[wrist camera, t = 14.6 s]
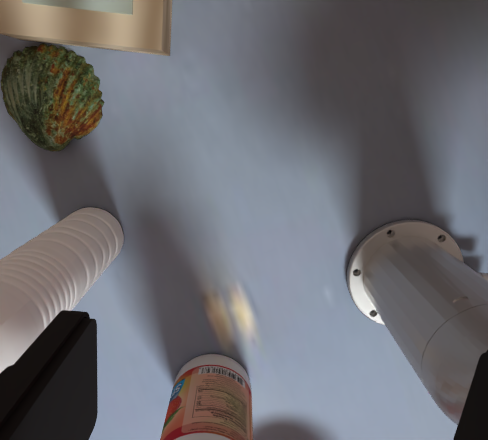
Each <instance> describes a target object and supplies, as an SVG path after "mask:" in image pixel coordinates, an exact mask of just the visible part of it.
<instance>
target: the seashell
mask: <svg viewBox="0 0 488 440" xmlns="http://www.w3.org/2000/svg"><path fill="white" fill-rule="evenodd" d="M99 85H100V80H99V78H98V77H97V76H95V75H94V69H93V66H92V65H90V64H87V63H86V61H85V58H84V57H79V56H77V55H76V53H75V52H74V51H70V52H67V50H66V49H65V48H64V47H60V48H59V49H58V48H57V47H56V46H54V45H50V46H47V45H46V44H45V43H42V44H40V45H39V46H38V47H37V46H31V47H25V48H24V50H23V52H20V51H16V52H14V53H13V57H11V58H9V59H7V64H6V66H5V67H4V69H3V71H2V80H1V89H2V92H3V100H4V102H5V106H6V108H7V111H8V113H9V115H10V116H11V117H12V118H13V119H14V120H15V121H16V122H17V123H18V125H19V127H20V128H21V130H22V131H23V132H24V133H25V135H26V136H27V137H28V138H29V139H30V140H31V141H32V142H33V143H35V144H36V145H37V146H39V147H41V148H43V149H46V150H49V151H60V150H62V149H64V148H65V147H66V146H67V145H68V144H69V143H70V141H71V140H72V139H73V138H76V139H81V138H82V137H83V136H86V135H88V134H89V133H90V132H91V131H92V130H94V129H95V128H96V127H97V125H98V124H99V122H100V120H101V118H102V106H103V104H104V101H103V100H102V99H101V96H102V92H101V91H100V90H99V89H98V88H99Z"/></svg>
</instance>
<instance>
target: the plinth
mask: <svg viewBox="0 0 488 440" xmlns="http://www.w3.org/2000/svg"><path fill="white" fill-rule="evenodd" d="M171 17H172V0H0V34H3V35H6V36H10V37H13V38H17V39H20V40H27V41H36V42H46V43H55V44H64V45H74V46H83V47H92V48H101V49H111V50H120V51H129V52H139V53H148V54H157V55H167V56H170V41H171Z"/></svg>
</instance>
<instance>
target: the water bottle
mask: <svg viewBox="0 0 488 440" xmlns="http://www.w3.org/2000/svg"><path fill="white" fill-rule="evenodd" d="M123 242H124V235H123V232H122V228H121V225H120V224H119V222H118V221H117V219H116V218H115V217H113V216H112V215H111V214H110V213H109V212H107V211H105V210H102V209H99V208H93V207H87V208H82V209H79V210H77V211H75V212H73V213H72V214H70V215H69V216H67V217H66V218H64V219H63V220H61V221H60V222H58V223H57V224H55V225H53V226H52V227H50V228H49V229H48V230H46V231H44V232H42V233H41V234H39V235H38V236H37V237H35V238H33V239H31V240H30V241H28V242H27V243H26V244H24V245H22V246H21V247H19V248H17V249H16V250H14V251H13V252H11V253H10V254H9V255H7V256H6V257H4V258H2V259H1V260H0V373H1V372H2V371H3V370H4V369H5V368H7V367H8V366H11V365H14V364H15V362H16V361H17V360H18V359H19V358H20V357H21V356H22V354H23V353H24V352H25V351H26V350H27V349H28V348H29V346H30V345H31V344H32V343H33V342H34V341H35V340H36V339H37V337H38V336H39V335H40V334H41V333H42V332H43V331H44V329H45V328H46V327H47V326H48V325H49V324H50V323H51V321H52V320H53V319H54V318H55V317H56V316H57V315H58V314H59V312H61V311H62V310H68V311H71V310H72V309H73V308H74V307H75V306H76V305H77V303H78V302H79V301H80V300H81V298H82V297H83V296H84V295H85V294H86V293H87V291H88V290H89V289H90V287H91V286H92V285H93V284H94V283H95V281H96V280H97V279H98V278H99V277H100V276H101V274H102V273H103V272H104V270H105V269H106V268H107V267H108V266H109V265H110V263H111V262H112V261H113V260H114V259H115V258H116V257H117V255H118V254H119V253H120V251H121V249H122V246H123Z"/></svg>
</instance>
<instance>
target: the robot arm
mask: <svg viewBox="0 0 488 440" xmlns="http://www.w3.org/2000/svg"><path fill="white" fill-rule="evenodd" d="M389 230H390V232H389V233H387V232H388V231H389ZM438 236H439V237H438ZM355 269H357V270H356V271H354V270H355ZM347 284H348V290H349V293H350V295H351V297H352V300H353V301H354V303H355V305H356V306H357V308H358V309H359V310H360V311H361V312H362V313H363V314H364V315H365V316H366V317H368V318H369V319H371V320H373V321H375V322H377V323H379V324H382V325H385V326H386V327H387V329H388V330H389V332H390V333H391V335H392V336H393V338H394V340H395V341H396V343H397V344H398V346H399V347H400V349H401V350H402V352H403V354H404V355H405V357H406V358H407V360H408V361H409V363H410V364H411V366H412V368H413V369H414V371H415V372H416V374H417V375H418V377H419V378H420V380H421V382H422V383H423V385H424V386H425V388H426V389H427V391H428V392H429V394H430V395H431V397H432V398H433V400H434V401H435V403H436V404H437V405H438V407H439V408H440V409H441V410H442V412H443V413H444V414H445V415H446V416H447V417H448V418H449V419H451V420H452V421H453V422H454V423H456V424H457V425H458V427H457V430H456V433H455V436H454V440H488V273H476V271H474V270H473V269H472V268H470V267H469V266H467V265H466V264H465V263H464V261H463V257H462V253H461V250H460V248H459V247H458V245H457V243H456V242H455V240H454V239H453V238H452V237H451V236H450V235H449V234H448V233H446V232H445V231H443V230H442V229H441V228H439V227H437V226H435V225H433V224H431V223H428V222H424V221H419V220H400V221H396V222H392V223H388V224H386V225H384V226H382V227H380V228H378V229H376V230H375V231H373V232H372V233H370V234H369V235H368V236H367V237H366V238H365V239H364V240H363V241H362V242H361V243H360V244H359V245H358V247H357V248H356V250H355V251H354V253H353V255H352V257H351V259H350V262H349V266H348V270H347ZM96 418H97V324H96V320H95V319H90V317H89V314H88V313H87V312H80V311H68V310H62V311H61V312H59V314H58V315H57V316H56V317H55V318H54V319H53V320H52V321H51V323H50V324H49V325H48V326H47V327H46V328H45V329H44V331H43V332H42V333H41V334H40V335H39V336H38V337H37V339H36V340H35V341H34V342H33V343H32V344H31V345H30V346H29V348H28V349H27V350H26V351H25V352H24V353H23V354H22V356H21V357H20V358H19V359H18V360H17V361H16V362H15V364H14V365H11V366H8V367H7V368H5V369H4V370H3V371H2V372H1V373H0V440H89V437H90V435H91V433H92V431H93V429H94V426H95V423H96Z"/></svg>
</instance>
